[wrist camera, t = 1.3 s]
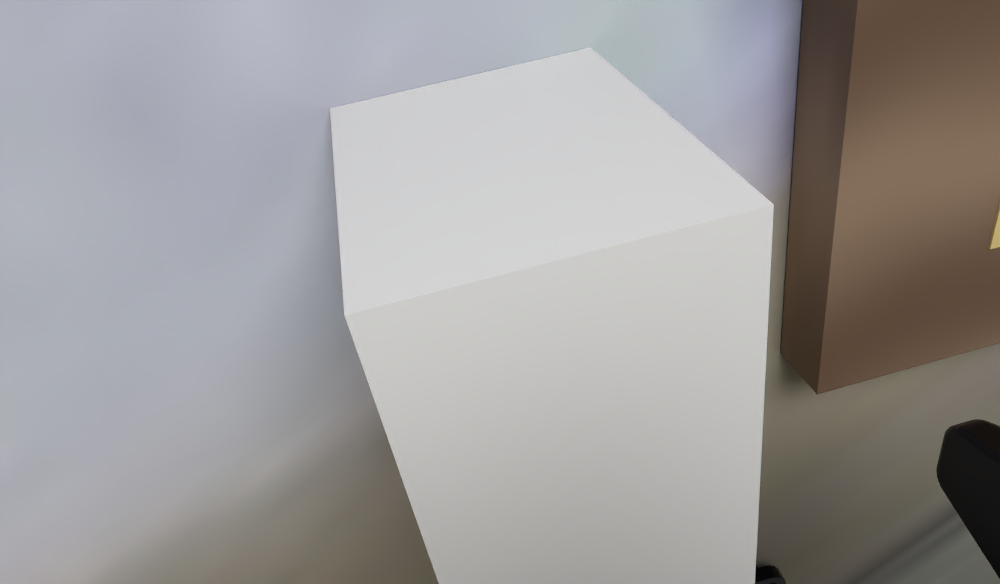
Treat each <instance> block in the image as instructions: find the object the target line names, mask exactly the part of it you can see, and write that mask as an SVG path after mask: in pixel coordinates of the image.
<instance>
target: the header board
mask: <svg viewBox="0 0 1000 584" xmlns="http://www.w3.org/2000/svg"><path fill="white" fill-rule="evenodd" d="M997 343H1000V0H803V13H802V28H801V44H800V60H799V75H798V91H797V107H796V122H795V138H794V154H793V169H792V185H791V201H790V216H789V232H788V248H787V263H786V279H785V295H784V310H783V326H782V342H781V353H782V354H783V355H784V357H785V358H786V359H787V360H788V361H789V362H790V363H791V365H792V366H793V367H794V368H795V369H796V370H797V372H798V373H799V374H800V375H801V376H802V377H803V379H804V380H805V381H806V382H807V383H808V384H809V385H810V387H811V388H812V389H813V390H814V391H815V392H816V394H820V393H823V392H827V391H830V390H834V389H838V388H841V387H845V386H848V385H852V384H855V383H859V382H862V381H866V380H870V379H873V378H877V377H880V376H884V375H887V374H891V373H894V372H898V371H901V370H905V369H909V368H912V367H916V366H919V365H923V364H926V363H930V362H933V361H937V360H940V359H944V358H948V357H951V356H955V355H958V354H962V353H965V352H969V351H972V350H976V349H979V348H983V347H987V346H990V345H994V344H997Z"/></svg>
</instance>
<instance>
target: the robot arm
mask: <svg viewBox="0 0 1000 584" xmlns="http://www.w3.org/2000/svg"><path fill="white" fill-rule="evenodd" d="M937 478H938V481H939V483H940V486H941V488H942V489H943V491H944V493H945V494H946V496H947V497H948V499H949V500H950V502H951V504H952V505H953V507H954V508H955V510H956V511H957V513H958V515H959V516H960V518H961V519H962V521H963V522H964V524H965V525H966V527H967V529H968V530H969V532H970V533H971V535H972V536H973V538H974V539H975V541H976V543H977V544H978V546H979V547H980V549H981V550H982V552H983V553H984V555H985V557H986V558H987V560H988V561H989V563H990V564H991V566H992V567H993V569H994V571H995V572H996V574H997V575H998V577H999V578H1000V426H997V425H995V424H993V423H990V422H988V421H984V420H978V419H977V420H971V421H967V422H964V423H960V424H957V425H953V426H951V427H949V428H948V429H947V430H946V432H945V435H944V439H943V443H942V447H941V451H940V455H939V460H938V464H937ZM755 584H786V583H785V580H784V578H783V576H782V575H781V573H780V572H779V570H778V568H776V567H775V566H770V565H769V566H763V567H760V568H756V573H755Z"/></svg>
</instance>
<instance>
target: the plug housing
mask: <svg viewBox="0 0 1000 584" xmlns="http://www.w3.org/2000/svg"><path fill="white" fill-rule="evenodd" d="M330 116H331V130H332V145H333V159H334V173H335V188H336V202H337V216H338V231H339V245H340V259H341V274H342V288H343V303H344V315H345V318H346V321H347V324H348V327H349V330H350V333H351V335H352V338H353V341H354V344H355V347H356V350H357V352H358V355H359V358H360V361H361V364H362V367H363V370H364V372H365V375H366V378H367V381H368V384H369V387H370V389H371V392H372V395H373V398H374V401H375V404H376V407H377V409H378V412H379V415H380V418H381V421H382V424H383V426H384V429H385V432H386V435H387V438H388V441H389V444H390V446H391V449H392V452H393V455H394V458H395V461H396V463H397V466H398V469H399V472H400V475H401V478H402V481H403V483H404V486H405V489H406V492H407V495H408V498H409V500H410V503H411V506H412V509H413V512H414V515H415V518H416V520H417V523H418V526H419V529H420V532H421V535H422V537H423V540H424V543H425V546H426V549H427V552H428V555H429V557H430V560H431V563H432V566H433V569H434V572H435V574H436V577H437V580H438V583H439V584H755V573H756V552H757V532H758V512H759V492H760V472H761V452H762V432H763V412H764V391H765V371H766V351H767V331H768V311H769V291H770V271H771V250H772V230H773V210H774V204H773V203H772V202H770V201H769V200H768V199H767V198H766V197H765V196H763V195H762V194H761V193H760V192H759V191H758V190H756V189H755V188H754V187H753V186H752V185H751V184H749V183H748V182H747V181H746V180H745V179H744V178H742V177H741V176H740V175H739V174H738V173H737V172H735V171H734V170H733V169H732V168H731V167H730V166H728V165H727V164H726V163H725V162H724V161H723V160H721V159H720V158H719V157H718V156H717V155H716V154H714V153H713V152H712V151H711V150H710V149H708V148H707V147H706V146H705V145H704V144H703V143H701V142H700V141H699V140H698V139H697V138H696V137H694V136H693V135H692V134H691V133H690V132H689V131H687V130H686V129H685V128H684V127H683V126H682V125H680V124H679V123H678V122H677V121H676V120H675V119H673V118H672V117H671V116H670V115H669V114H668V113H666V112H665V111H664V110H663V109H662V108H661V107H659V106H658V105H657V104H656V103H655V102H654V101H652V100H651V99H650V98H649V97H648V96H647V95H645V94H644V93H643V92H642V91H641V90H640V89H638V88H637V87H636V86H635V85H634V84H633V83H631V82H630V81H629V80H628V79H627V78H626V77H624V76H623V75H622V74H621V73H620V72H619V71H617V70H616V69H615V68H614V67H613V66H612V65H610V64H609V63H608V62H607V61H606V60H605V59H603V58H602V57H601V56H600V55H599V54H597V53H596V52H595V51H594V50H593V49H592V48H586V49H581V50H577V51H573V52H569V53H564V54H560V55H556V56H552V57H547V58H543V59H539V60H535V61H530V62H526V63H522V64H517V65H513V66H509V67H505V68H500V69H496V70H492V71H488V72H483V73H479V74H475V75H470V76H466V77H462V78H458V79H453V80H449V81H445V82H441V83H436V84H432V85H428V86H424V87H419V88H415V89H411V90H406V91H402V92H398V93H394V94H389V95H385V96H381V97H377V98H372V99H368V100H364V101H359V102H355V103H351V104H347V105H342V106H338V107H334V108H330Z"/></svg>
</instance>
